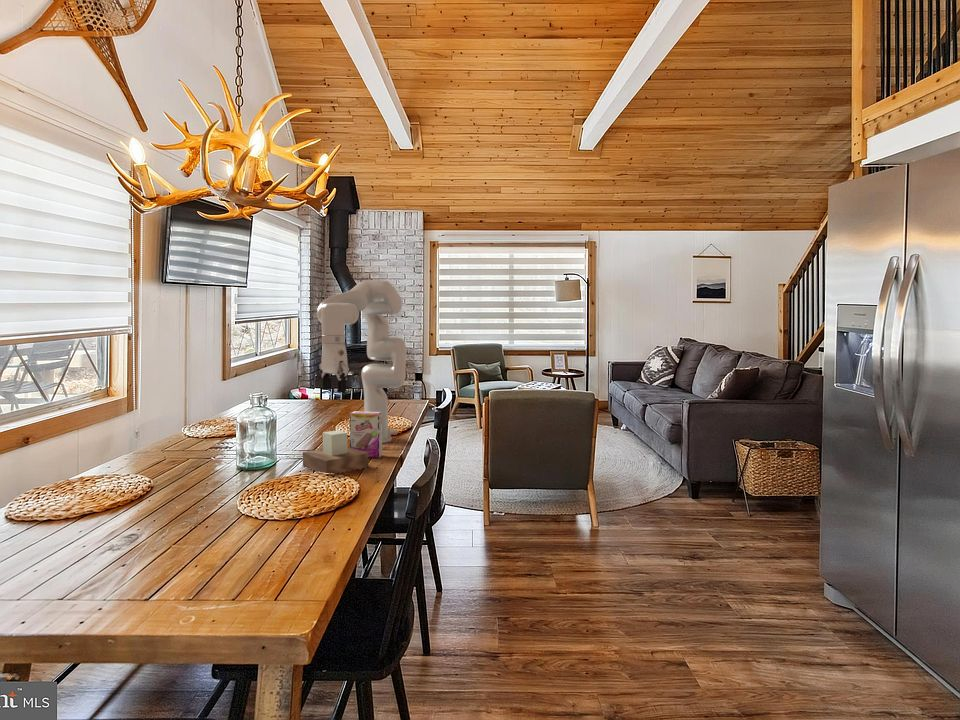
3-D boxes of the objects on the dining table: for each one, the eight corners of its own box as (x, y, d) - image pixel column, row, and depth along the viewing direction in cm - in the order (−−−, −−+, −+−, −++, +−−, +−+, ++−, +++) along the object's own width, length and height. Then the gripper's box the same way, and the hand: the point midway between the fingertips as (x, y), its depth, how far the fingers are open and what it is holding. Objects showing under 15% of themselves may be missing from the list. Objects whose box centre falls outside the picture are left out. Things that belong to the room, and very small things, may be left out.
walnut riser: (343, 459, 227) (343, 445, 227) (368, 467, 216) (368, 453, 215) (302, 466, 216) (302, 452, 216) (326, 476, 205) (326, 460, 204)
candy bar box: (349, 457, 230) (348, 413, 228) (353, 454, 235) (353, 410, 233) (379, 458, 229) (379, 413, 227) (383, 455, 234) (382, 411, 232)
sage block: (338, 449, 220) (338, 430, 219) (347, 452, 215) (347, 432, 215) (322, 452, 216) (322, 432, 215) (331, 455, 211) (331, 435, 211)
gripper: (356, 341, 209) (357, 392, 211) (329, 338, 222) (330, 387, 223) (336, 342, 204) (337, 394, 206) (310, 339, 217) (311, 389, 218)
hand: (334, 390), depth 215 cm, fingers open, 9 cm apart
